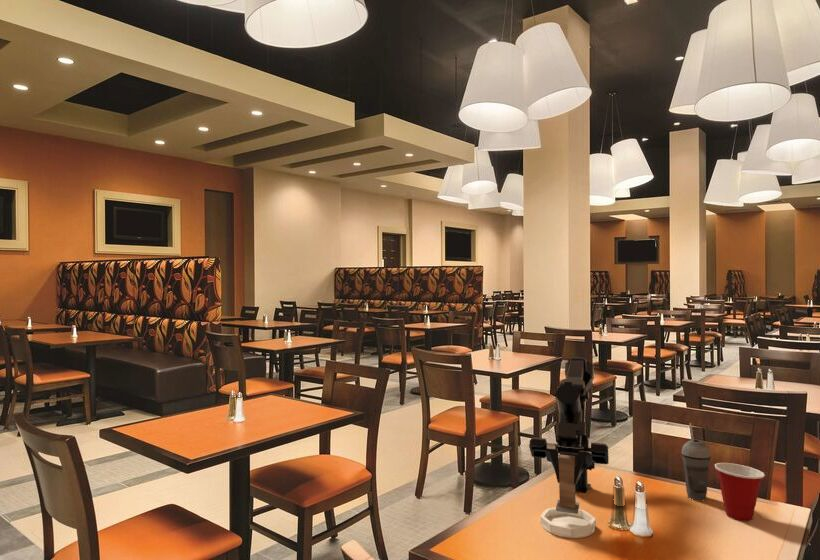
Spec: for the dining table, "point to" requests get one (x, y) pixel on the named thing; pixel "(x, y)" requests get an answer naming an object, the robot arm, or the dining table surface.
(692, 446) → the beverage cup
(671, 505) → the dining table surface
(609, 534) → the dining table surface
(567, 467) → the brown tall rectangular block
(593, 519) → the saucer
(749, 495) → the plastic cup
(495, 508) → the dining table surface
